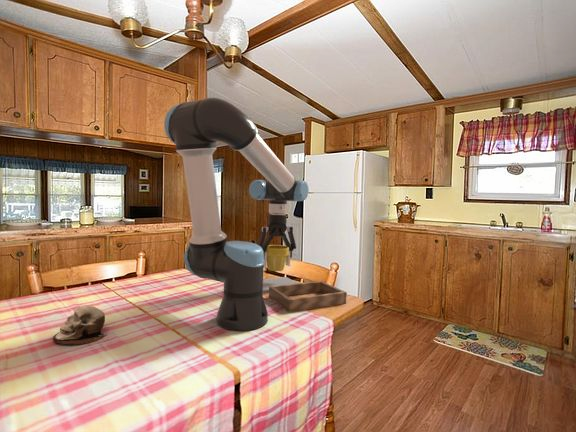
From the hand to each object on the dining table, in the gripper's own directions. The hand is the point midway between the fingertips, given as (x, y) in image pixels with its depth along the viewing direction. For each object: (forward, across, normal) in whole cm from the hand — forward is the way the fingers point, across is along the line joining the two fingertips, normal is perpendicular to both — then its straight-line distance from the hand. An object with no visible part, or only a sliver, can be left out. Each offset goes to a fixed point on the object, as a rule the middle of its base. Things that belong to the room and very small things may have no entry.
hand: (276, 266), depth 131 cm
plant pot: (+1, 0, 0) cm, 1 cm away
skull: (+8, -66, -24) cm, 71 cm away
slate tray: (+8, 0, 0) cm, 8 cm away
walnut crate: (+8, +3, -21) cm, 23 cm away
